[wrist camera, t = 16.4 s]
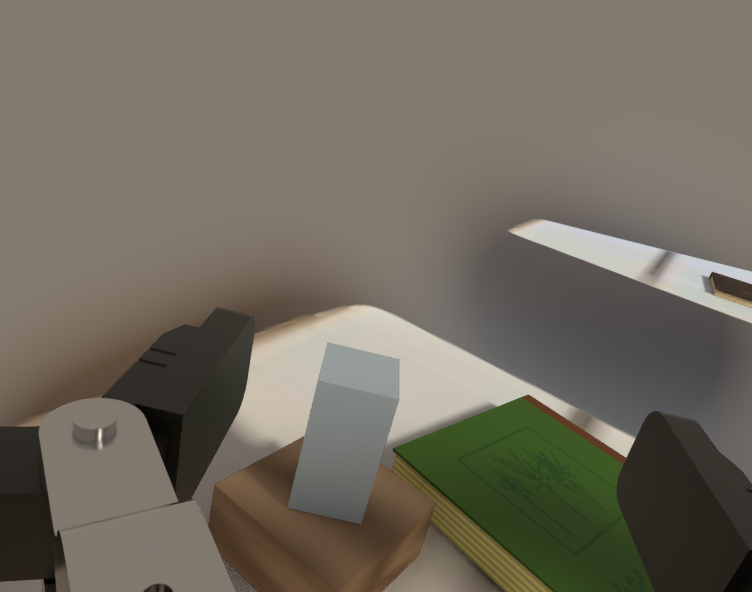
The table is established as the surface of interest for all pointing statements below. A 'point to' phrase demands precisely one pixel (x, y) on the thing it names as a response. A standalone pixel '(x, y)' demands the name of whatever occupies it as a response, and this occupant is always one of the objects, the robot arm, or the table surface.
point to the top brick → (345, 433)
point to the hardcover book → (528, 500)
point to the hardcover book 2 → (731, 289)
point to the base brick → (314, 531)
